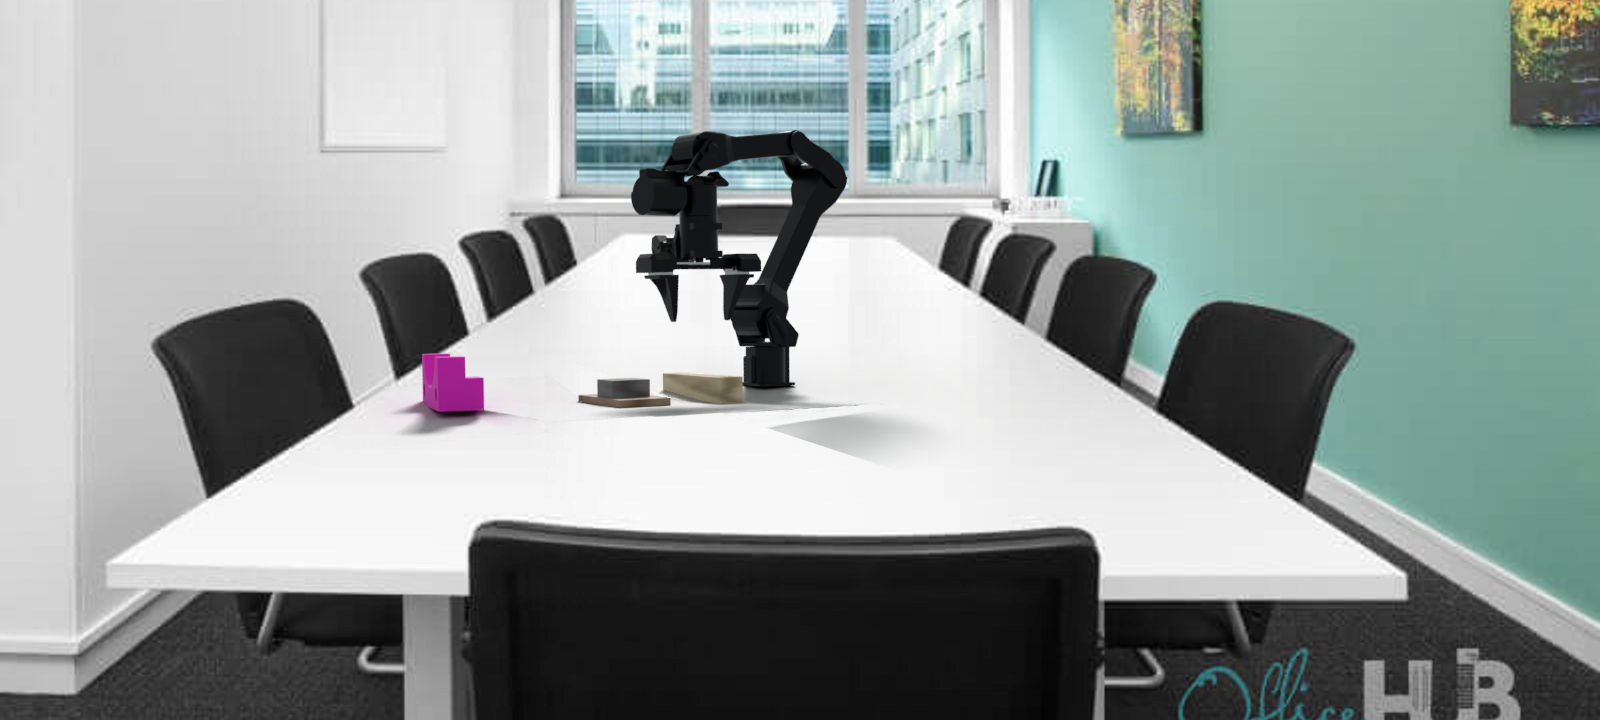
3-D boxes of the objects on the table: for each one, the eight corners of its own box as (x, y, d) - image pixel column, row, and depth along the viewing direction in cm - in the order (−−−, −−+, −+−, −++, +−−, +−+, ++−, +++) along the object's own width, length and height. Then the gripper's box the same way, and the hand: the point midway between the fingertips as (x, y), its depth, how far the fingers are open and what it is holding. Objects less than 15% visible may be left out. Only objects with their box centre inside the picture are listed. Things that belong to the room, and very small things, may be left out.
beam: (685, 397, 211) (684, 372, 210) (742, 403, 198) (742, 376, 198) (663, 399, 208) (662, 373, 208) (720, 405, 195) (719, 377, 195)
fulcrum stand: (627, 399, 204) (627, 376, 204) (670, 404, 192) (670, 380, 192) (578, 401, 199) (578, 378, 199) (619, 407, 188) (619, 382, 188)
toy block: (484, 409, 188) (483, 356, 188) (438, 411, 186) (437, 357, 186) (465, 402, 202) (464, 353, 202) (422, 404, 200) (421, 353, 199)
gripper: (725, 220, 214) (727, 319, 214) (618, 219, 203) (620, 322, 204) (762, 216, 204) (764, 319, 205) (652, 214, 194) (654, 323, 195)
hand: (700, 321), depth 202 cm, fingers open, 9 cm apart
